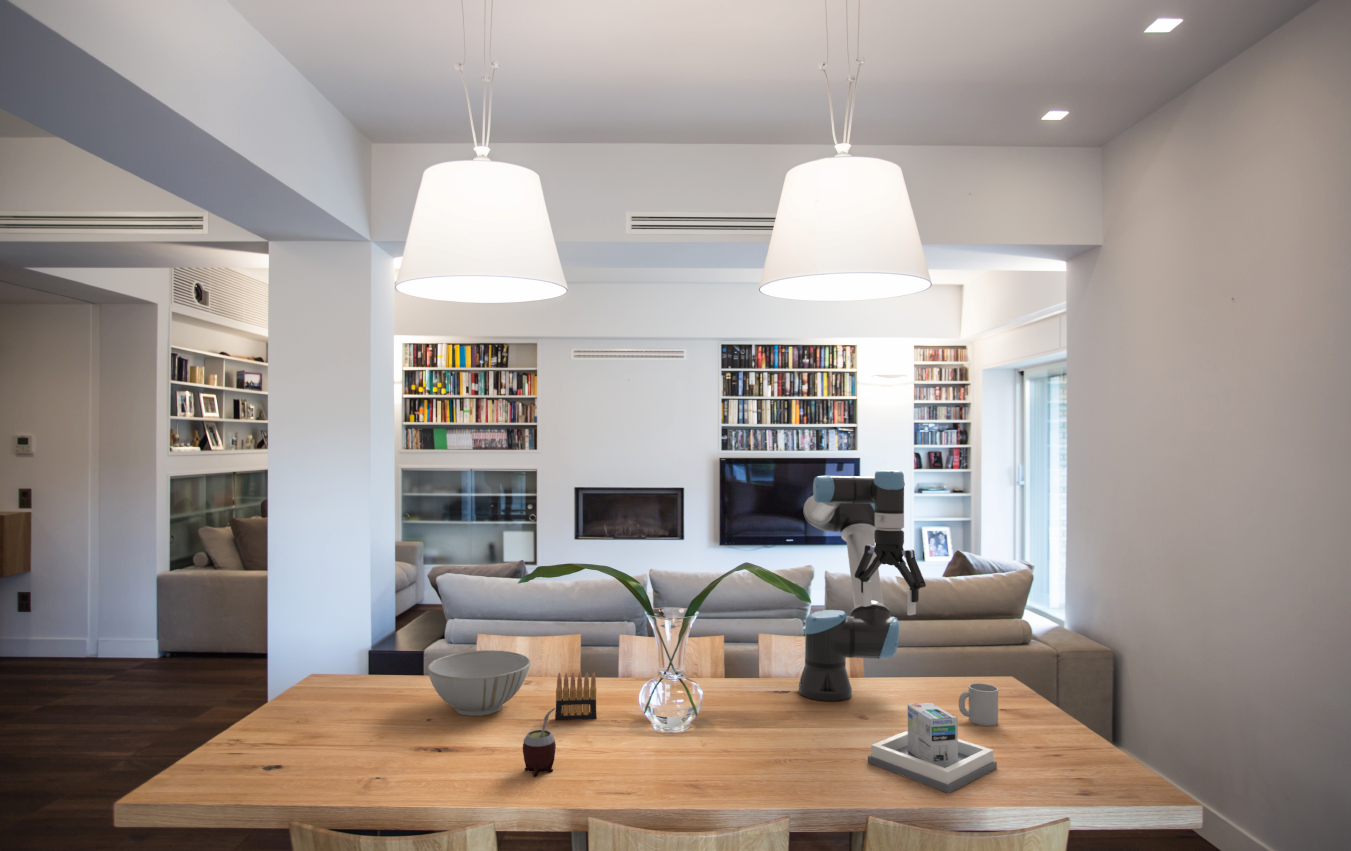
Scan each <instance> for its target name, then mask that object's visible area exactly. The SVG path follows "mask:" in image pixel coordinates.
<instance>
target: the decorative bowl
mask: <svg viewBox="0 0 1351 851" xmlns="http://www.w3.org/2000/svg"><path fill="white" fill-rule="evenodd" d="M530 667H531V661H530V659H529V657H527V656H526V655H524V654H521V653H518V652H515V651H514V652H513V651H508V650H492V649H491V650H490V649H489V650H488V649H487V650H485V649H484V650H472V651H462V652H457V653H452V654H451V653H450V654H447V655H444V656H442V657H438V658H436V659H434V660H432V661H431V662H430V663H429V664H428V665H427V672H428V676H429V680H430V682H431V684H432V687H433V688H434V690H435V692H436V694H438V695H439V697H440V699H442V700H443V701H444V702H445V703H447V704H448V705H449V706H451V707H453V708H454V709H455V712H456V713H457V714H460V715H462V716H471V717H479V716H487V715H490V714H491V715H492V714H494V713H497V712H499V711H501V710H502V709H503V705H505V704H506V703H507V702H509V701H510V700H511V699H512V698H513V697H514V696H516V694H517V693H518V692H519V691H520V688H521V687H522V686H523V683H524V682H525V680H526V678H527V676H528V673H529V670H530Z"/></svg>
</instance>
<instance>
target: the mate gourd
mask: <svg viewBox="0 0 1351 851" xmlns="http://www.w3.org/2000/svg"><path fill="white" fill-rule="evenodd" d="M555 711H556V707H554V708H552V709H551V710H549V711H548V712H547V713H546V714H545V715H544V719H543V724H542V727H541V729H536V730H532V731H530V732H528V733H527V734H526V736H525V737H524V739H523V742H522V743H523V744H522V754H523V761H524V764H525V765H524V766H525V767H524V772H534V773H533V775H532V777H533V778H537V777H538V776H539V774H540V773H553V771H554V769H553V766H554V762H555V757H556V756H555V755H556V749H557V746H556V739H555V737H554V734H552V732H551V731H550V730H546V726H547V721H548V720H549V717H550V715H551V713H552V712H555Z"/></svg>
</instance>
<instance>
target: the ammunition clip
mask: <svg viewBox="0 0 1351 851" xmlns="http://www.w3.org/2000/svg"><path fill="white" fill-rule="evenodd" d="M582 678H583V677H582V673H581V671H580V672H579V673H578V676H577V679H576V676H575V673H574V672H572V673H571V676H570V684H569V676H568V672H565V674H564V678H563V681H562V674H561V673H560V672H559V673H558V675H557V679H556V680H557V681H556V688H555V714H554V717H555V718H554V721H556V722H558V721H560V722H561V721H584V720H585V721H586V720H589V721H590V720H597V718H598V716H597V715H598V714H597V683H596V681H597V679H596V674H595V671H593V672H592V674H591V679H590V678H589V674H588V671H586V672H585V673H584V679H582ZM576 680H577V682H576ZM589 680H590V681H589ZM576 683H577V684H576ZM569 685H570V686H569Z"/></svg>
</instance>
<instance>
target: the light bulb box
mask: <svg viewBox="0 0 1351 851" xmlns="http://www.w3.org/2000/svg"><path fill="white" fill-rule="evenodd" d="M958 724H959V721H958V716H955V715H954V714H952V713H950V712H948V711H946V710H944V708H943V709H942V708H941V707H939V706H938V705H936V704H934V703H932V702H924V703H908V704H907V730H908V751H909V752H911V753H912V754H913V755H915V756H916V757H917V758H919V759H921V760H924V761H926V762H929V763H932V764H935V765H938V766H941V767H948V766H950V765H953V764H955V763H957V762H958V739H959V738H958V737H959V735H958V734H959V733H958V731H959V730H958V729H959V728H958V726H959V725H958Z"/></svg>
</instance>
